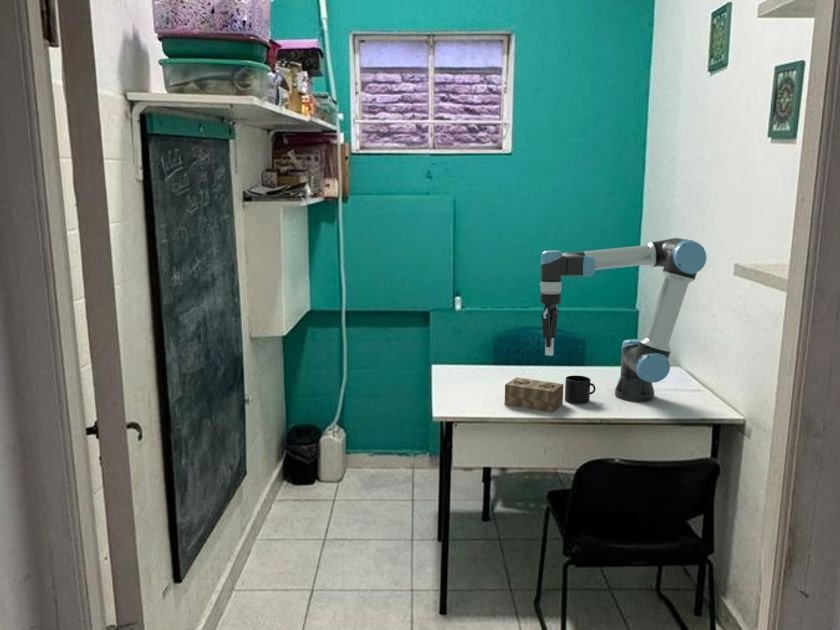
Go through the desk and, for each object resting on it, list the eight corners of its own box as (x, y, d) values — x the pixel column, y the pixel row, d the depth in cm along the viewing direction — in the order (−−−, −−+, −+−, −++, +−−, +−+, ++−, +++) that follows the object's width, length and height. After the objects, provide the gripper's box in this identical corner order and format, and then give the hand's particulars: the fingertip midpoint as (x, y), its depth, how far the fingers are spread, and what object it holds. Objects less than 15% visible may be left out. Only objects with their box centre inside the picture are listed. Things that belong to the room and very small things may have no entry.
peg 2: (553, 404, 264) (553, 384, 263) (549, 407, 261) (550, 386, 259) (542, 402, 266) (543, 382, 265) (539, 405, 263) (540, 385, 261)
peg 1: (528, 400, 269) (528, 380, 268) (524, 403, 266) (525, 382, 264) (518, 398, 271) (519, 379, 270) (514, 401, 268) (515, 381, 266)
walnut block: (562, 404, 267) (563, 384, 265) (552, 412, 256) (553, 391, 255) (516, 396, 276) (516, 377, 274) (504, 404, 265) (505, 384, 264)
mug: (599, 403, 268) (600, 381, 266) (569, 404, 266) (570, 382, 264) (590, 396, 277) (591, 374, 275) (561, 397, 275) (562, 375, 274)
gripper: (546, 289, 263) (545, 350, 268) (534, 294, 252) (533, 357, 256) (566, 290, 260) (564, 352, 264) (554, 295, 249) (553, 359, 253)
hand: (549, 354), depth 260 cm, fingers closed
